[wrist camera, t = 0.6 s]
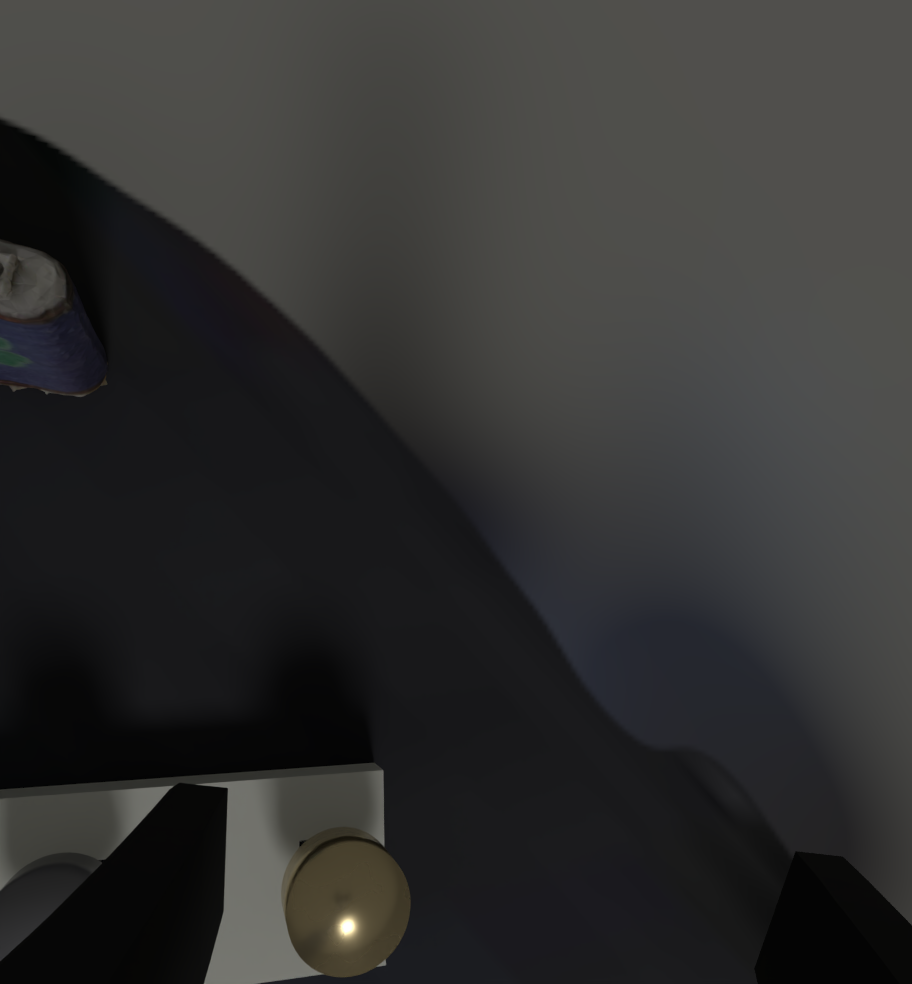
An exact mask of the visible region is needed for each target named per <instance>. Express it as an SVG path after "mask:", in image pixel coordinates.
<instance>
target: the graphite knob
mask: <svg viewBox="0 0 912 984" xmlns="http://www.w3.org/2000/svg"><path fill="white" fill-rule="evenodd" d="M101 864H102V862H100V861H99V860H97V859H95V858H93V857H90V856H88V855H84V854H80V853H72V852H67V853H56V854H51V855H48V856H44V857H42V858H39V859H37V860H35V861H33V862H31V863H29V864H28V865H26V866H25V867H23V868H22V869H21V870H19V871H18V872H17V873H16V874H15V875H14V876H13V877H12V878H11V879H10V880H9V881H8V882H7V883H6V884H5V886H4V887H3V888H2V889H1V890H0V961H1V960H2V959H3V958H4V957H5V956H7V955H8V954H9V953H10V952H11V951H12V950H13V949H14V948H15V947H16V946H17V945H19V944H20V943H21V942H22V941H23V940H24V939H25V938H26V937H27V936H28V935H30V934H31V933H32V932H33V931H34V930H35V929H36V928H37V927H38V926H39V925H40V924H41V923H42V922H43V921H44V920H46V919H47V918H48V917H49V916H50V915H51V914H52V913H53V912H54V911H55V910H56V909H57V908H58V907H59V906H60V905H61V904H62V903H63V902H64V901H65V900H66V899H67V898H68V897H69V896H70V895H71V894H72V893H73V892H74V891H75V890H76V889H77V888H78V887H79V886H80V885H81V884H82V883H83V882H84V881H85V880H86V879H87V878H88V877H89V876H90V875H91V874H92V873H93V872H94V871H95V870H96V869H97V868H98V867H99V866H100V865H101Z"/></svg>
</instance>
